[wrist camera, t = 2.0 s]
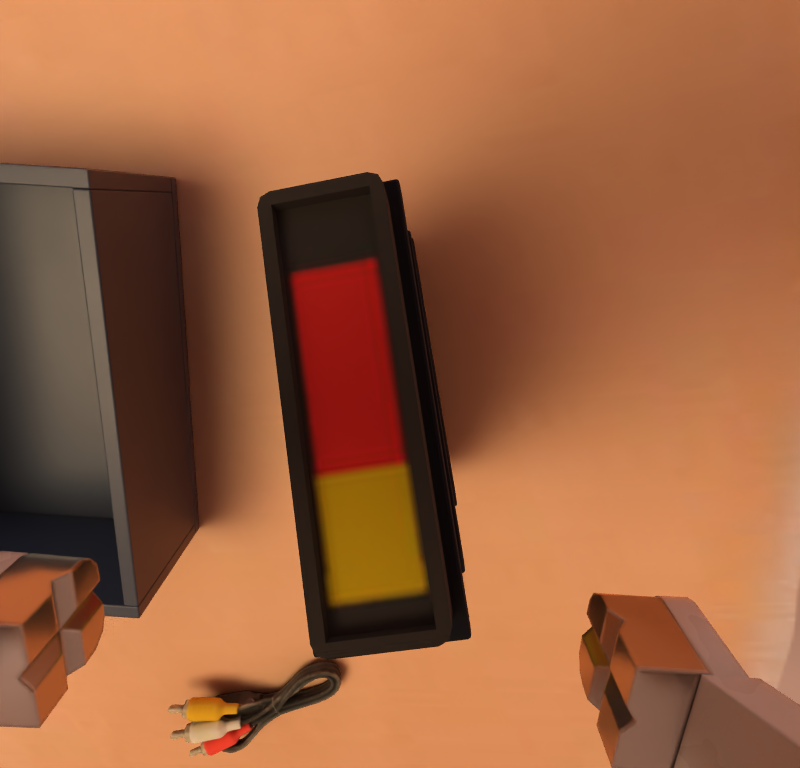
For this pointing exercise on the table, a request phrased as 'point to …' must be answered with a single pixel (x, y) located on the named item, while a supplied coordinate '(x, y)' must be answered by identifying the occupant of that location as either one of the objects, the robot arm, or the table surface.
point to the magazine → (362, 420)
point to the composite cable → (249, 710)
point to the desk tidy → (95, 376)
